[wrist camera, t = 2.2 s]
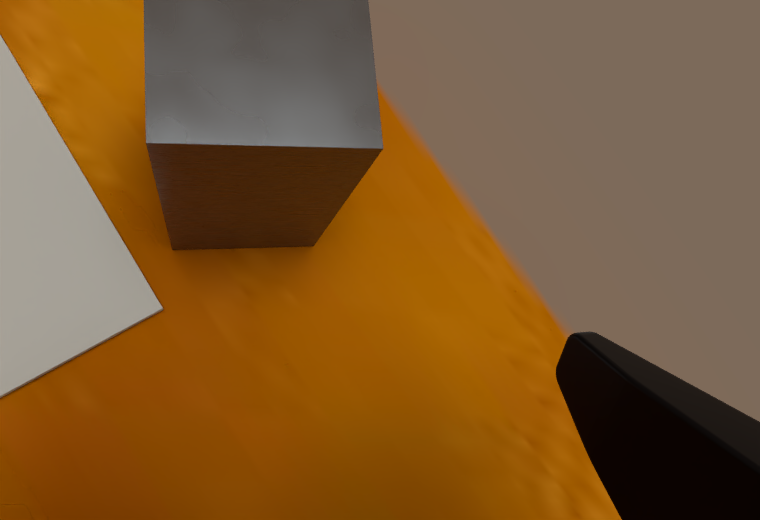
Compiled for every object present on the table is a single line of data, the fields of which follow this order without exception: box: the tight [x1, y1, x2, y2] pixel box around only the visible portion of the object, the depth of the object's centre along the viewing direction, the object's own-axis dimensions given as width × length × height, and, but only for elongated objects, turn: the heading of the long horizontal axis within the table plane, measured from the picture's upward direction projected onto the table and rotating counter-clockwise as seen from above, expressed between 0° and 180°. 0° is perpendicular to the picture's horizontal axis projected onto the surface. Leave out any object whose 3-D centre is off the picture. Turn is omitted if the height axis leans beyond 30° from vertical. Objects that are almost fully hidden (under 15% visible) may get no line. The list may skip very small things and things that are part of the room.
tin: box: [144, 0, 383, 250], centre depth 19 cm, size 5×5×10 cm
